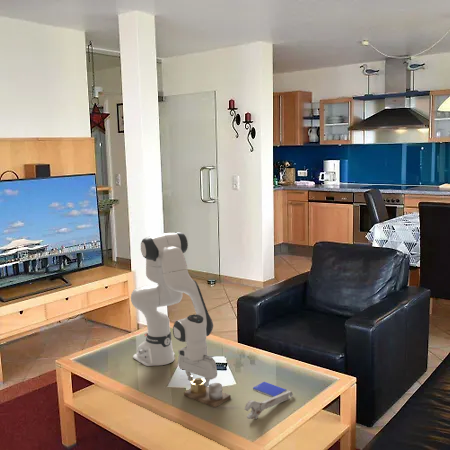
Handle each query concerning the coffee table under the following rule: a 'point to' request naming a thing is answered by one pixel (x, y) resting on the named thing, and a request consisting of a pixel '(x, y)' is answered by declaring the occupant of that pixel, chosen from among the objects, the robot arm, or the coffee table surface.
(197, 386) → the ring
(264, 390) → the hard drive
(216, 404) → the stub board
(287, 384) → the coffee table surface
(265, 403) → the wrench
